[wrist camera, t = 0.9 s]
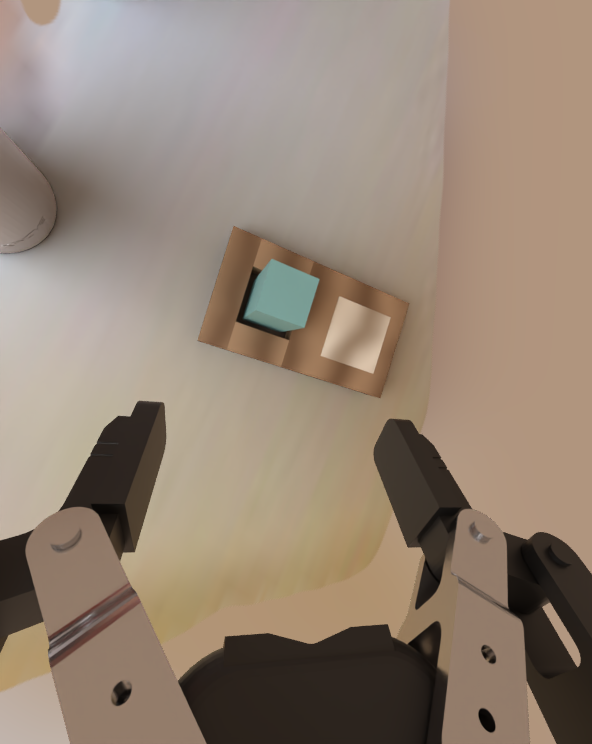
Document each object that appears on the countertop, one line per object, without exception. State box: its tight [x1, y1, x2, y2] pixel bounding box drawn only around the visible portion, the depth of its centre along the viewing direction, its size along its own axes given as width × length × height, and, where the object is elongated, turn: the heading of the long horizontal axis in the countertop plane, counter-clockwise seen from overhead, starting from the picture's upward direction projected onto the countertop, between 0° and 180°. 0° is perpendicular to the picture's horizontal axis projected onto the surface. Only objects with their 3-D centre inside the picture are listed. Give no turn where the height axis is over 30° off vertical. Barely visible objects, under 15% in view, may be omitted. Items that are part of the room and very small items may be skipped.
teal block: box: [242, 259, 319, 332], centre depth 31 cm, size 4×4×9 cm
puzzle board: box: [198, 226, 409, 398], centre depth 36 cm, size 22×12×3 cm, turn 72°
